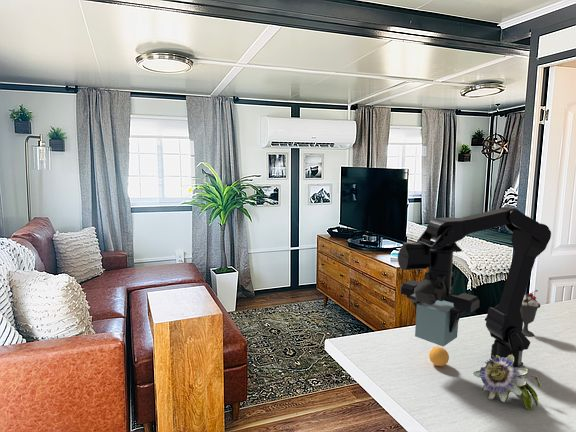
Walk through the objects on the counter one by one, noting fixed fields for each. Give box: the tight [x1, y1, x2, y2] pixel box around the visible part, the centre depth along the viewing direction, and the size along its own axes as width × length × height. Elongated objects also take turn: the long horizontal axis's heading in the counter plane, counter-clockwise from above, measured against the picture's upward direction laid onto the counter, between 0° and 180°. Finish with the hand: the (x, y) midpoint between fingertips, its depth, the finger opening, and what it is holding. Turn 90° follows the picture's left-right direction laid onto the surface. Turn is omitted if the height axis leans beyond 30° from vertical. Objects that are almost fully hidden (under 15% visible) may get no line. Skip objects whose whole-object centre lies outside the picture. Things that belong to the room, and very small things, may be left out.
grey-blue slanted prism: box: [414, 300, 459, 348], centre depth 102 cm, size 8×8×9 cm
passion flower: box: [472, 354, 542, 411], centre depth 92 cm, size 11×11×12 cm
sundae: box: [520, 289, 541, 337], centre depth 125 cm, size 7×7×15 cm
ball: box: [428, 346, 450, 367], centre depth 105 cm, size 5×5×5 cm
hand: (435, 326), depth 102 cm, fingers closed on grey-blue slanted prism, 8 cm apart
